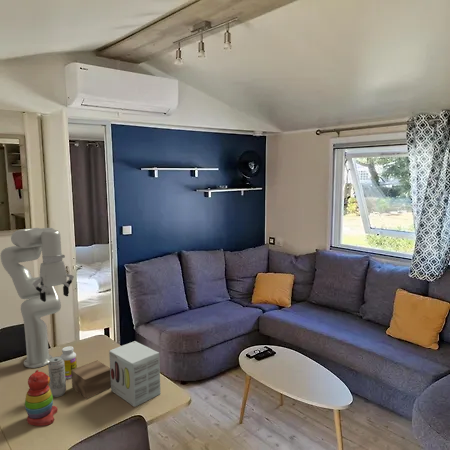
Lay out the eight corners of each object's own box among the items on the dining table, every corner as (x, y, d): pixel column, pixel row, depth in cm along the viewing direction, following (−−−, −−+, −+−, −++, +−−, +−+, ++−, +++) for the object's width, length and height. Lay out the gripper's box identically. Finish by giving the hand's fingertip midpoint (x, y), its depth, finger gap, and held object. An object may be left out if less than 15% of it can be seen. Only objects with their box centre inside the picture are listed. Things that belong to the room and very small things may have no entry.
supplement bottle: (71, 380, 179) (70, 352, 177) (58, 378, 180) (56, 351, 179) (80, 372, 186) (78, 345, 184) (67, 371, 187) (65, 344, 185)
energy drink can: (66, 388, 172) (63, 354, 170) (66, 395, 167) (63, 360, 165) (50, 391, 170) (48, 357, 168) (50, 398, 164) (47, 363, 162)
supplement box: (110, 391, 169) (107, 350, 167) (136, 379, 179) (135, 340, 176) (134, 407, 158) (132, 363, 155) (161, 393, 167) (160, 351, 165)
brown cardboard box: (72, 387, 173) (71, 370, 171) (98, 377, 181) (97, 360, 180) (86, 398, 164) (85, 379, 163) (112, 387, 173) (111, 369, 172)
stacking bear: (53, 424, 148) (49, 378, 145) (22, 428, 145) (18, 381, 143) (58, 408, 158) (55, 364, 156) (30, 411, 156) (26, 367, 154)
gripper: (67, 254, 182) (70, 292, 184) (27, 261, 169) (30, 301, 172) (75, 257, 177) (78, 295, 179) (35, 264, 164) (38, 305, 167)
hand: (55, 298), depth 175 cm, fingers open, 9 cm apart
